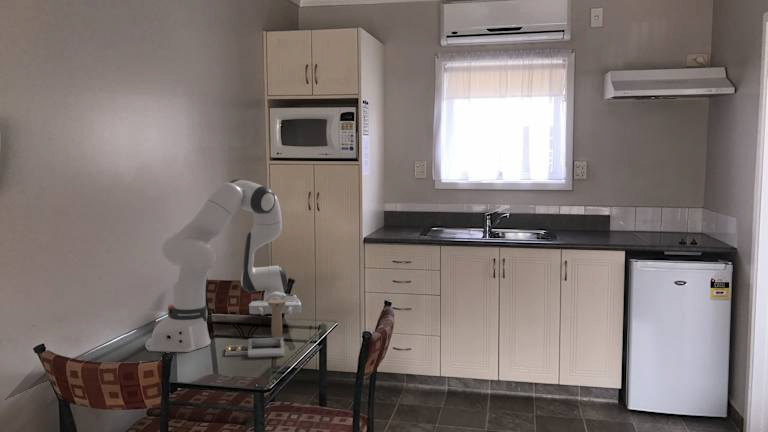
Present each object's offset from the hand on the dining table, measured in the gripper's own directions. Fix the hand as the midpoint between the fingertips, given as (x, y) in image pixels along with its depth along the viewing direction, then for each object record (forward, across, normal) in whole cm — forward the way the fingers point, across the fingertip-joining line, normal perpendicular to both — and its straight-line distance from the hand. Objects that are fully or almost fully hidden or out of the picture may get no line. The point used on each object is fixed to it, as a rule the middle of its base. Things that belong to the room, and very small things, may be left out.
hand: (275, 312), depth 253 cm
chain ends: (+20, -8, +8) cm, 23 cm away
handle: (+9, 0, +8) cm, 12 cm away
